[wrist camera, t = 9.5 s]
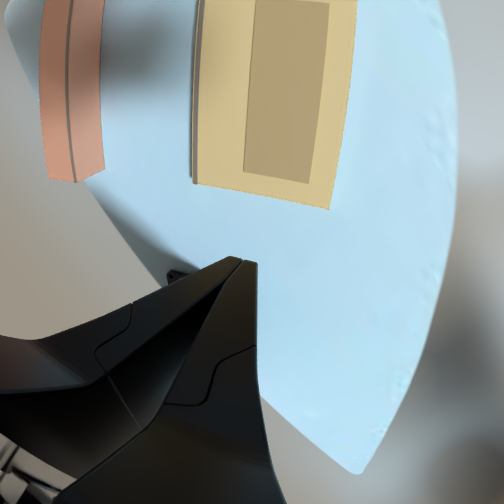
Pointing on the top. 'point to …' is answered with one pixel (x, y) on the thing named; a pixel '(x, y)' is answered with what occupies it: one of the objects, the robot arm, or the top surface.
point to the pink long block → (71, 88)
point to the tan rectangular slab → (272, 96)
